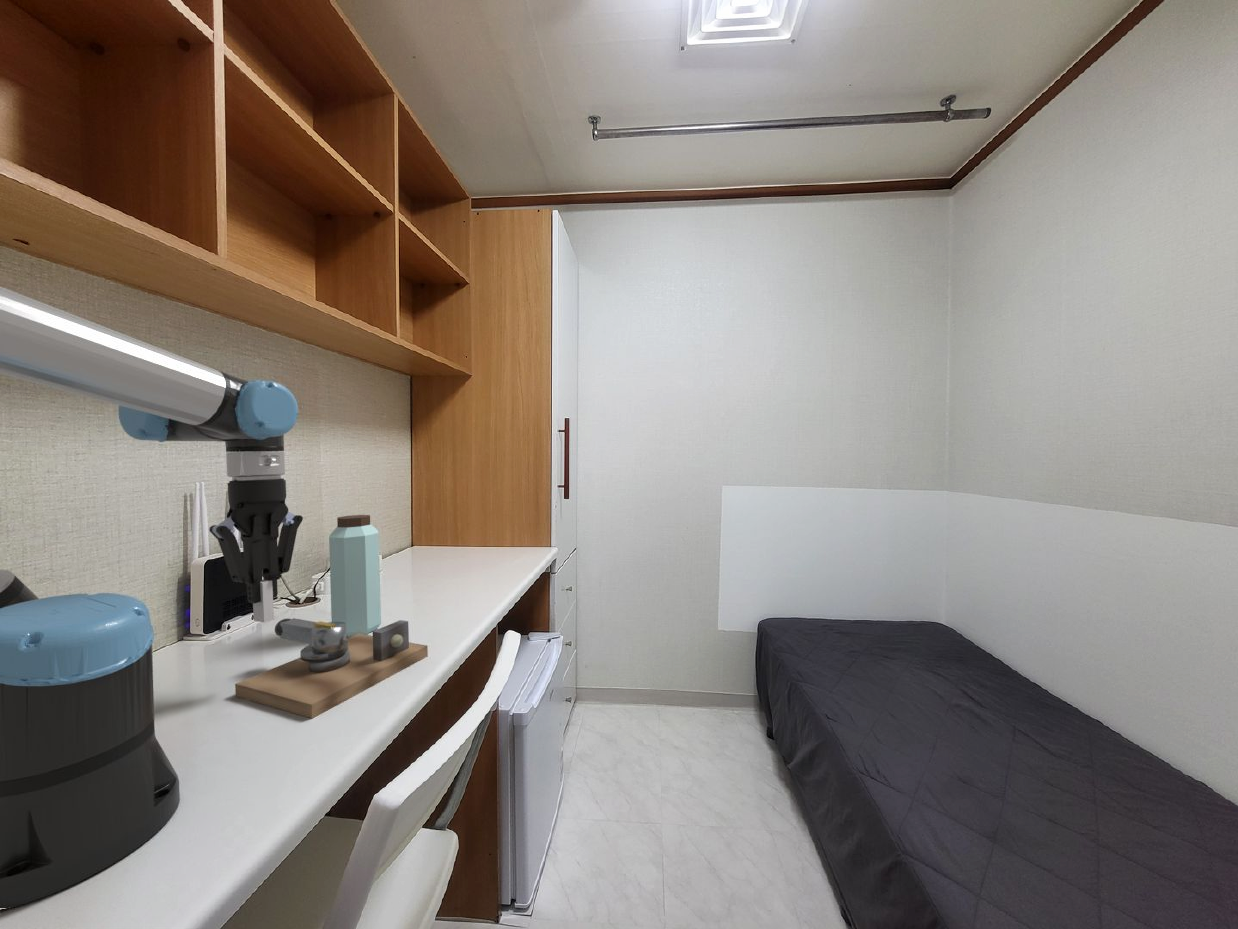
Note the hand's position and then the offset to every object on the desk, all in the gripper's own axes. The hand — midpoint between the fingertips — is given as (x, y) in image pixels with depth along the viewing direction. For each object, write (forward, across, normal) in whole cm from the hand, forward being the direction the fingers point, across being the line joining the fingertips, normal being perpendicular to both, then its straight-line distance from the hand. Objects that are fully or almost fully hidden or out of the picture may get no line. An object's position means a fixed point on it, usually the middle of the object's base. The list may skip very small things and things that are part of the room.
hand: (263, 619), depth 76 cm
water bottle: (+12, +23, +8) cm, 27 cm away
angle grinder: (+7, +6, -2) cm, 10 cm away
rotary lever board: (+11, +7, -8) cm, 15 cm away
